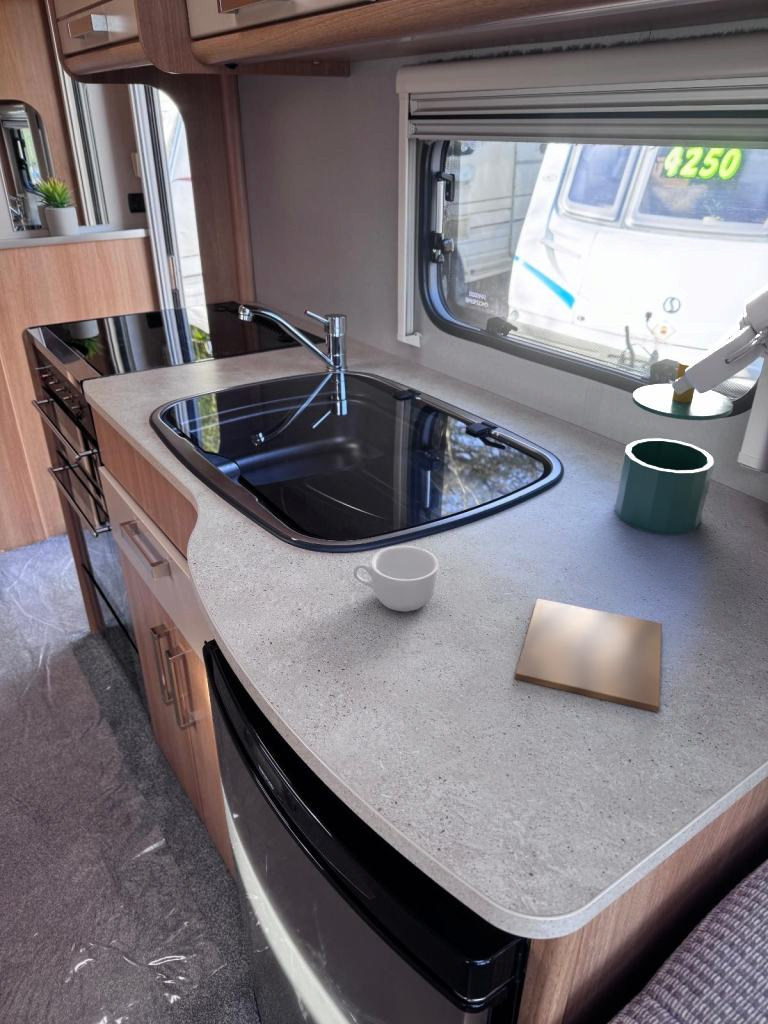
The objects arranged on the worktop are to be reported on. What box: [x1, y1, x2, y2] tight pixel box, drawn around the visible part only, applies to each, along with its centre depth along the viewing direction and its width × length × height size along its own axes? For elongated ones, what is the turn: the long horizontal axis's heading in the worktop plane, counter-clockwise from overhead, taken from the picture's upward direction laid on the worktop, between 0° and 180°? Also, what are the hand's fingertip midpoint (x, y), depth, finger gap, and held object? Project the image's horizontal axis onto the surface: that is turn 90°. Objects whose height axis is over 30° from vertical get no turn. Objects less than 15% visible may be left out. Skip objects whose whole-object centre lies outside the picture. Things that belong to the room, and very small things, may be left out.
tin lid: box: [632, 359, 734, 421], centre depth 96 cm, size 13×13×6 cm
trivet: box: [514, 597, 663, 713], centre depth 78 cm, size 14×14×1 cm
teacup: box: [353, 545, 440, 613], centre depth 85 cm, size 10×8×5 cm
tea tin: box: [614, 438, 715, 536], centre depth 103 cm, size 12×12×10 cm
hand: (680, 384), depth 96 cm, fingers closed on tin lid, 2 cm apart
